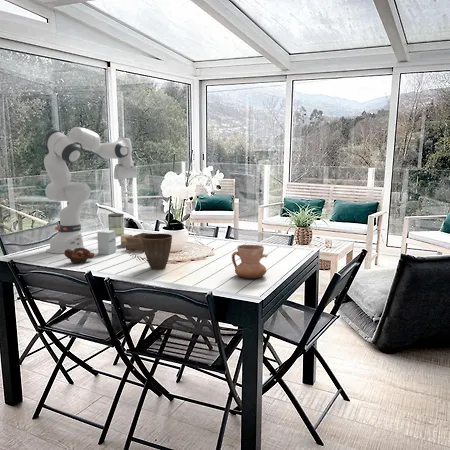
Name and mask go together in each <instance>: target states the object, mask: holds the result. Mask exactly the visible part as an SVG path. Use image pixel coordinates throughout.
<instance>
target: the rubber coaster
mask: <svg viewBox="0 0 450 450" xmlns="http://www.w3.org/2000/svg"><path fill="white" fill-rule="evenodd" d="M116 248H122V249H123V248H125V249H126V246H121V243H120V244H116Z"/></svg>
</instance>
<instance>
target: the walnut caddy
mask: <svg viewBox="0 0 450 450" xmlns="http://www.w3.org/2000/svg"><path fill="white" fill-rule="evenodd" d="M148 234H153V233H152V232H151V233H150V232H141V233H137V234H134V235H132V236H130V237H127V238H126V248H125V250H126V251H134V252H135V250H138V251H137V252H144V247H143V243H142V236H144V235H148Z"/></svg>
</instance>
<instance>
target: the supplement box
mask: <svg viewBox="0 0 450 450" xmlns="http://www.w3.org/2000/svg"><path fill="white" fill-rule="evenodd" d="M96 233H97V234H96V235H97V254H98V255H105V256H107V255H109V256H110V255H111V254H114V253H116V251H117V247H116V246H117V244H116V243H117V242H116V241H117V239H116V236H115V231H113V230H109V229H103V230H100V231H97V232H96Z"/></svg>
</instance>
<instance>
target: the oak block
mask: <svg viewBox="0 0 450 450" xmlns="http://www.w3.org/2000/svg"><path fill="white" fill-rule="evenodd" d="M130 236H133V234H125V233H124V235H121V236H120V244H121V246H126V238H127V237H130Z"/></svg>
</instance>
